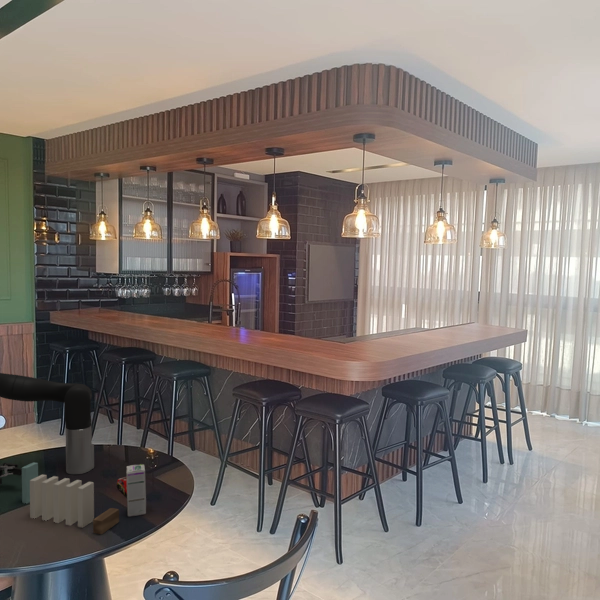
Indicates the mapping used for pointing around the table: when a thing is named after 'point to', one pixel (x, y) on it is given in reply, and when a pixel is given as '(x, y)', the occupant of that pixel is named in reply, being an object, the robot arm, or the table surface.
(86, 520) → the domino
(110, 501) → the table surface
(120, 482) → the race car
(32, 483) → the domino
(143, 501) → the syrup box
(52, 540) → the table surface
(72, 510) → the domino
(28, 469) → the domino
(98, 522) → the end stop
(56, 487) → the domino
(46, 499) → the domino
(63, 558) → the table surface
